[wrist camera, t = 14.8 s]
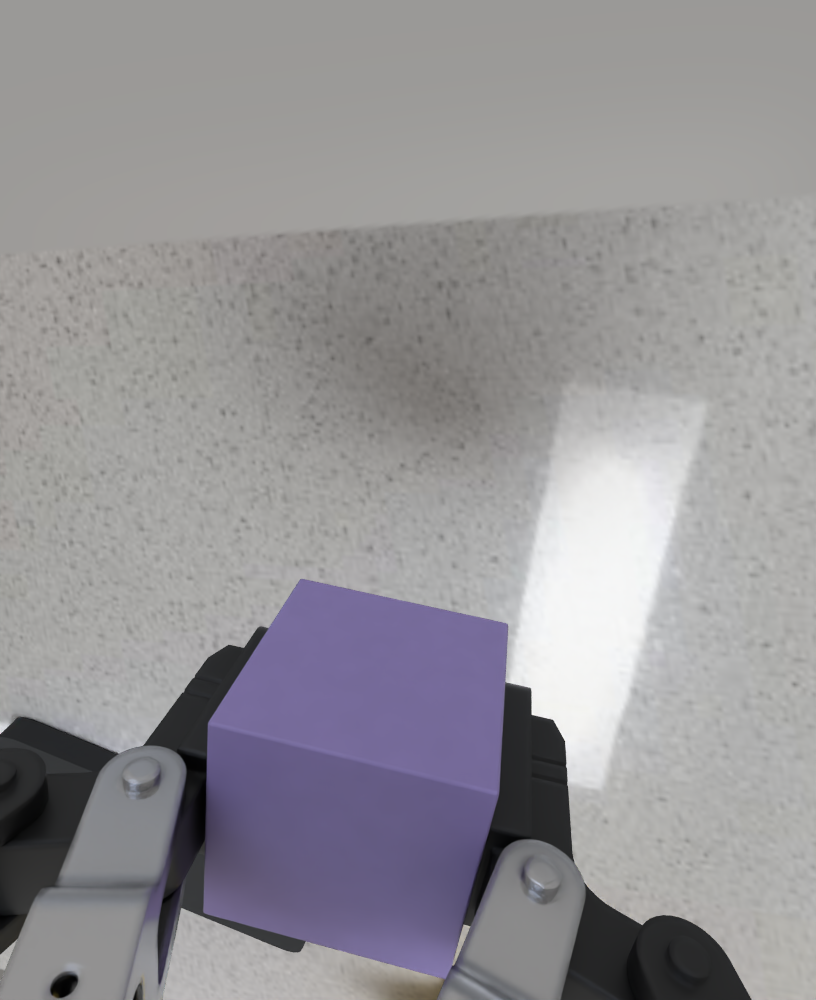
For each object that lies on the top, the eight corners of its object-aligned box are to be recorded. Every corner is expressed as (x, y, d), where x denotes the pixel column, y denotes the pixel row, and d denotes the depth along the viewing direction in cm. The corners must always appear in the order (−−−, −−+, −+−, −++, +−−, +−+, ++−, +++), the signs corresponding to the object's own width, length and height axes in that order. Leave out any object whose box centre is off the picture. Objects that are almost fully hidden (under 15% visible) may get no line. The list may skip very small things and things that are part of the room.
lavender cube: (300, 577, 13) (206, 722, 9) (508, 622, 13) (499, 794, 9) (286, 736, 15) (201, 914, 11) (469, 781, 14) (448, 981, 11)
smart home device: (-6, 732, 36) (338, 873, 35) (16, 710, 37) (346, 845, 37) (-17, 831, 39) (297, 960, 39) (4, 807, 41) (306, 931, 40)
